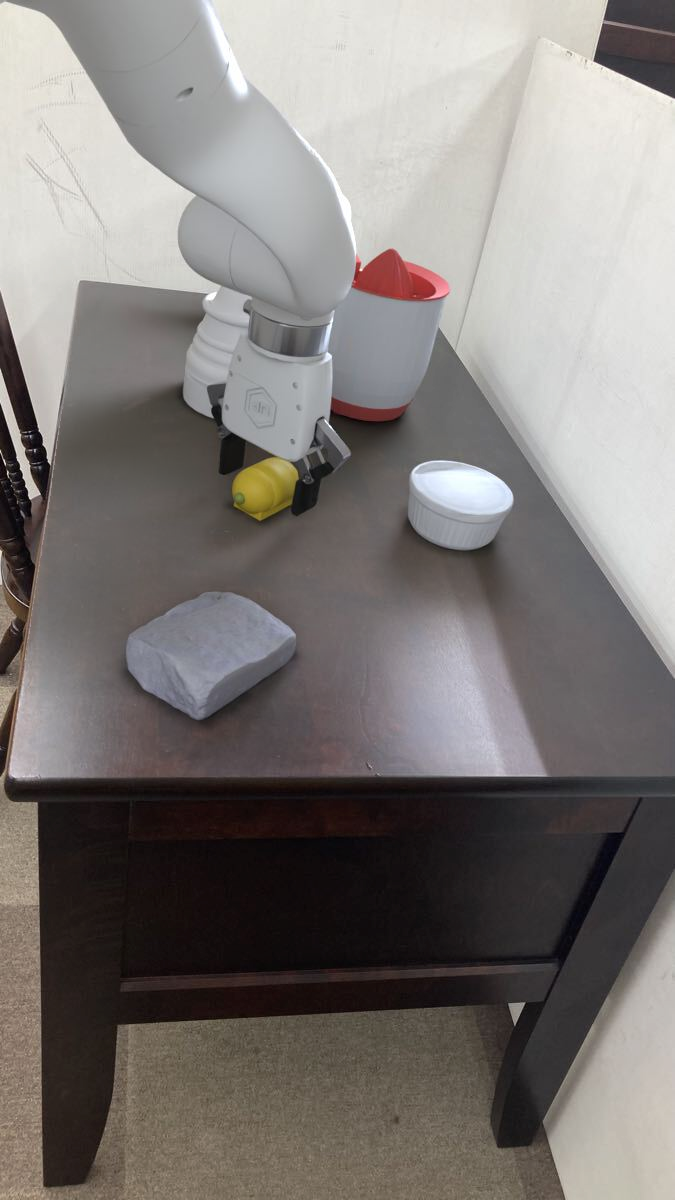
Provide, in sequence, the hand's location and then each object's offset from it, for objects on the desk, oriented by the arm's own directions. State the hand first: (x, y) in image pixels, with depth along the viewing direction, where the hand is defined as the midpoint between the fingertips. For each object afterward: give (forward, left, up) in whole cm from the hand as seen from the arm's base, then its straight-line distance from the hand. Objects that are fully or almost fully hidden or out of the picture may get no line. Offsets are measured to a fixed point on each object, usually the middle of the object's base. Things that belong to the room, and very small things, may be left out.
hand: (265, 490), depth 92 cm
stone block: (-13, -22, -2) cm, 26 cm away
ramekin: (+19, -7, -2) cm, 20 cm away
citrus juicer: (+22, +23, -2) cm, 32 cm away
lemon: (0, 0, -2) cm, 2 cm away
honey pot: (+5, +24, -2) cm, 25 cm away
